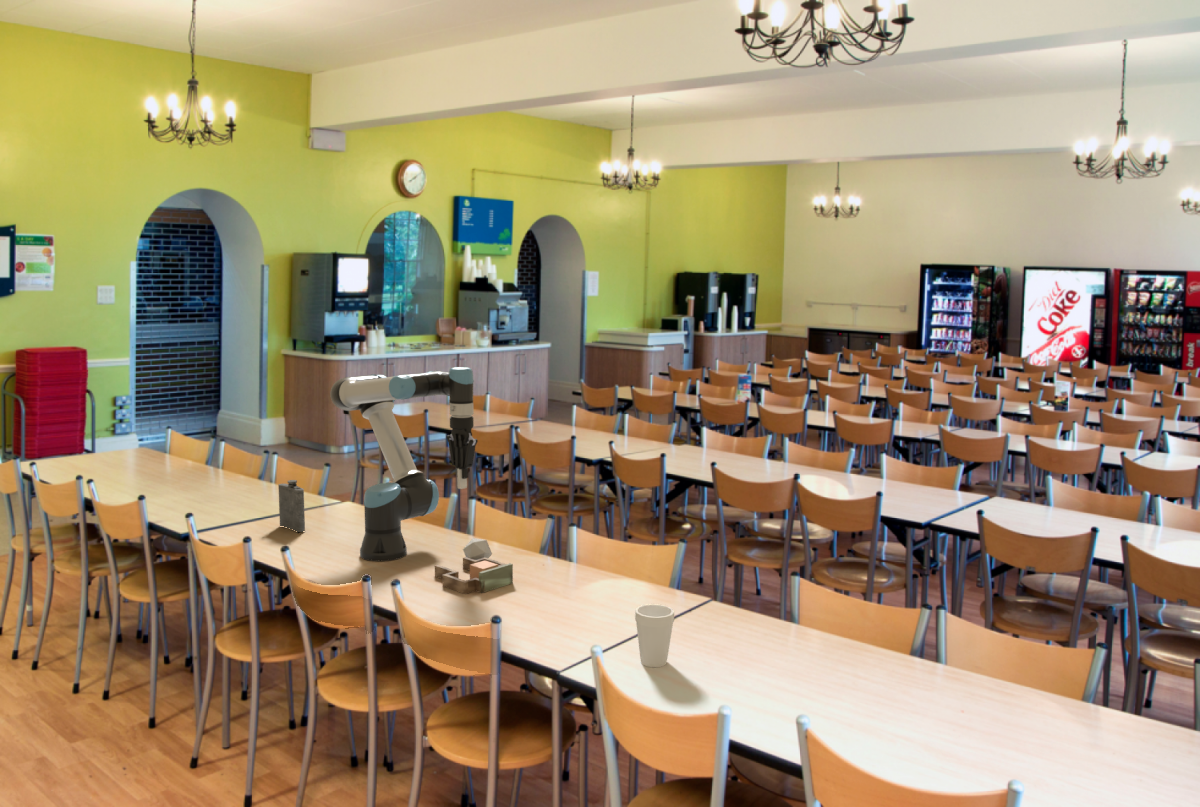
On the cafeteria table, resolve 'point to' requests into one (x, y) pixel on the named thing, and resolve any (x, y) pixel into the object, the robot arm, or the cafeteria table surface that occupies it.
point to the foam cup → (654, 633)
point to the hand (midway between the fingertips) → (462, 487)
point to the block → (480, 568)
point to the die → (477, 549)
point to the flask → (291, 506)
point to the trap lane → (484, 583)
